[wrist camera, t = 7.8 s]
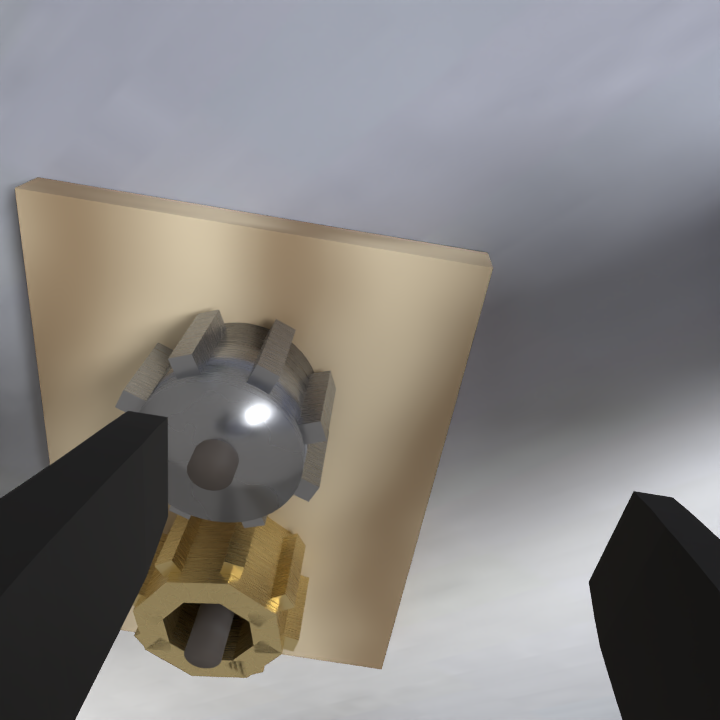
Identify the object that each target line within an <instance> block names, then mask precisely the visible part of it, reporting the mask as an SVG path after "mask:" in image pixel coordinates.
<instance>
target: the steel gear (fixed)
mask: <svg viewBox="0 0 720 720" xmlns="http://www.w3.org/2000/svg"><path fill="white" fill-rule="evenodd" d="M295 331H296V330H295V329H294V328H292V327H290V326H288V325H286V324H285V323H283V322H281V321H279V320H277V319H276V320H275V321H274V323H273V325H272V326H271V328H270V329H267V328H264V327H262V326H258V325H254V324H249V323H224V321H223V318H222V316H221V313H220V311H219V310H214V311H209V312H204V313H199V314H198V315H197V316H196V318H195V319H194V321H193V322H192V324H191V325H190V327H189V328H188V329H187V331H186V332H185V334H184V335H183V337H182V338H181V340H180V341H179V343H178V344H177V346H176V347H175V349H174V350H172V349H170V348H168V347H166V346H164V345H162V344H160V343H157V345H156V346H155V348H154V349H153V350H152V352H151V353H150V354H149V356H148V357H147V358H146V360H145V361H144V363H143V364H142V365H141V367H140V368H139V369H138V371H137V372H136V373H135V375H134V376H133V378H132V379H131V380H130V382H129V383H128V384H127V386H126V387H125V388H124V390H123V392H122V394H121V396H120V398H119V400H118V402H117V404H116V406H115V407H116V408H118V409H120V410H122V411H124V412H127V411H133V412H139V413H145V414H151V415H158V416H164V417H168V504H169V505H171V506H170V508H169V511H171V512H173V513H176V514H178V515H180V516H182V517H184V518H187V519H189V518H190V517H191V516H194V517H198V518H201V519H205V520H210V521H216V522H242V524H243V527H244V528H249V527H256V526H263V525H265V523H266V519H267V515H268V514H271V513H273V512H274V511H276V510H277V509H279V508H281V507H282V506H283V505H284V504H285V503H286V502H288V500H289V499H290V498H291V497H292V496H293V495H295V496H297V497H299V498H301V499H303V500H306V501H308V502H309V501H310V499H311V498H312V497H313V495H314V494H315V493H316V491H317V490H318V489H319V488H320V482H321V476H322V471H323V465H324V459H325V453H326V447H327V442H328V436H329V426H330V420H331V415H332V409H333V403H334V397H335V392H336V386H335V383H334V380H333V377H332V374H331V370H330V371H324V372H319V373H314V371H313V368H312V366H311V365H310V363H309V361H308V359H307V358H306V357H305V356H304V354H303V353H302V352H301V351H300V350H299V349H298V348H297V347H296V346H295V345H294V344H293V343H292V340H293V337H294V334H295ZM205 440H220V441H223V442H226V443H227V444H229V445H230V446H232V447H233V448H234V449H235V451H236V452H237V454H238V457H239V464H238V467H237V469H236V472H235V475H234V478H233V481H232V483H231V484H230V485H229V486H228V487H226V488H225V489H222V490H218V491H211V490H206V489H203V488H200V487H198V486H197V485H195V484H194V483H193V482H192V481H191V480H190V478H189V476H188V474H187V465H188V463H189V460H190V458H191V456H192V454H193V452H194V450H195V448H196V446H197V445H198V444H199V443H201V442H203V441H205Z"/></svg>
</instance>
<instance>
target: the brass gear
mask: <svg viewBox="0 0 720 720" xmlns="http://www.w3.org/2000/svg"><path fill="white" fill-rule="evenodd" d="M305 547H306V545H305V544H304V542H303V541H302V539H301V538H300V536H299V535H298V533H297V534H292V533H291V532H289V531H288V530H286V529H285V528H283V527H282V526H281V525H279V524H278V523H276V522H275V521H273V520H272V519H271V518H269V517H268V516H267V519H266V523H265V525H263V526H256V527H249V528H244V527H243V524H242V522H216V521H210V520H205V519H201V518H198V517H194V516H191V517H190V518H189V519H187V518H184V517H182V516H180V515H178V514H177V517H176V519H175V521H174V523H173V526H172V528H171V530H170V531H169V532H168V533H167V534H164V533H162V536H161V539H160V541H159V544H158V547H157V550H156V553H155V555H154V558H153V561H152V563H151V566H150V569H149V571H148V574H147V577H146V579H145V581H144V583H143V585H142V587H141V589H140V591H139V593H138V595H137V597H136V599H135V601H134V603H133V605H132V606H135V607H134V609H133V613H134V616H135V620H136V623H137V626H138V628H137V630H136V632H135V635H134V636H135V637H136V638H137V639H138V640H139V641H140V642H141V644H142V645H143V646H144V647H145V650H147V651H149V652H151V653H152V654H154V655H156V656H158V657H159V658H161V659H163V660H165V661H167V662H168V663H170V664H172V665H174V666H175V667H177V668H179V669H181V670H182V671H184V672H186V673H188V674H189V675H191V676H211V677H240V678H247V677H249V676H250V675H252V674H256V673H261V672H263V670H264V666H265V665H266V664H268V663H269V662H271V661H272V660H274V659H275V658H277V657H278V656H280V655H281V654H282V652H283V649H285V650H289V651H292V652H293V651H294V649H295V647H296V645H297V643H298V641H299V637H300V631H301V625H302V619H303V613H304V607H305V600H306V594H307V588H308V582H309V577H305V576H302V575H301V569H302V564H303V558H304V553H305ZM201 603H213V604H221V605H223V606H225V607H226V608H228V609H229V610H231V611H233V612H234V613H235V614H234V617H233V621H232V624H231V628H230V632H229V635H228V639H227V642H226V646H225V650H224V653H223V657H222V660H221V663H220V664H219V665H218V666H216V667H214V668H199V667H196V666H194V665H192V664H190V663H189V662H188V661H187V660H186V659H185V657H184V651H185V648H186V645H187V642H188V639H189V636H190V633H191V630H192V627H193V625H194V622H195V619H196V616H197V613H198V610H199V607H200V604H201Z"/></svg>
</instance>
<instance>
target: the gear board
mask: <svg viewBox="0 0 720 720" xmlns="http://www.w3.org/2000/svg"><path fill="white" fill-rule="evenodd" d="M15 193H16V201H17V209H18V217H19V225H20V233H21V240H22V248H23V256H24V264H25V272H26V280H27V287H28V295H29V303H30V311H31V319H32V327H33V335H34V342H35V350H36V358H37V366H38V374H39V382H40V389H41V397H42V405H43V413H44V421H45V429H46V436H47V444H48V452H49V460H50V465H51V464H52V463H54V462H55V461H57V460H58V459H59V458H61V457H62V456H64V455H65V454H66V453H68V452H69V451H71V450H72V449H74V448H75V447H76V446H78V445H79V444H81V443H82V442H84V441H85V440H86V439H88V438H89V437H91V436H92V435H93V434H95V433H96V432H98V431H99V430H100V429H102V428H103V427H105V426H106V425H108V424H109V423H111V422H112V421H113V420H115V419H116V418H118V417H119V416H121V415H122V414H124V413H125V412H124V411H122V410H120V409H118V408H116V407H115V406H116V404H117V402H118V400H119V398H120V396H121V394H122V392H123V390H124V388H125V387H126V386H127V384H128V383H129V382H130V380H131V379H132V378H133V376H134V375H135V373H136V372H137V371H138V369H139V368H140V367H141V365H142V364H143V363H144V361H145V360H146V358H147V357H148V356H149V354H150V353H151V352H152V350H153V349H154V348H155V346H156V345H157V343H160V344H162V345H164V346H166V347H168V348H170V349H172V350H174V349H175V347H176V346H177V344H178V343H179V341H180V340H181V338H182V337H183V335H184V334H185V332H186V331H187V329H188V328H189V327H190V325H191V324H192V322H193V321H194V319H195V318H196V316H197V315H198V314H199V313H204V312H209V311H214V310H219V311H220V313H221V316H222V318H223V321H224V323H249V324H254V325H258V326H262V327H264V328H267V329H270V328H271V326H272V325H273V323H274V321H275V320H276V319H277V320H279V321H281V322H283V323H285V324H286V325H288V326H290V327H292V328H294V329H295V330H296V331H295V334H294V337H293V340H292V343H293V344H294V345H295V346H296V347H297V348H298V349H299V350H300V351H301V352H302V353H303V354H304V356H305V357H306V358H307V359H308V361H309V363H310V365H311V366H312V368H313V371H314V373H319V372H324V371H330V370H331V374H332V377H333V380H334V383H335V386H336V392H335V397H334V403H333V409H332V415H331V420H330V426H329V436H328V442H327V447H326V453H325V459H324V465H323V471H322V476H321V482H320V488H319V489H318V490H317V491H316V493H315V494H314V495H313V497H312V498H311V499H310V501H309V502H308V501H306V500H303V499H301V498H299V497H297V496H295V495H293V496H292V497H291V498H290V499H289V500H288V502H286V503H285V504H284V505H283V506H282V507H281V508H279V509H277V510H276V511H274V512H273V513H271V514H268V515H267V516H268V517H269V518H271V519H272V520H273V521H275V522H276V523H278V524H279V525H281V526H282V527H283V528H285V529H286V530H288V531H289V532H291V533H292V534H297V533H298V535H299V536H300V538H301V539H302V541H303V542H304V544H305V545H306V547H305V553H304V558H303V564H302V569H301V575H302V576H305V577H309V582H308V588H307V594H306V600H305V607H304V613H303V619H302V625H301V631H300V637H299V641H298V643H297V645H296V647H295V649H294V651H293V652H292V651H289V650H285V649H283V652H282V654H283V655H290V656H297V657H303V658H310V659H316V660H323V661H330V662H336V663H343V664H350V665H356V666H363V667H370V668H376V669H382V666H383V662H384V659H385V655H386V651H387V648H388V644H389V641H390V637H391V633H392V630H393V626H394V623H395V619H396V615H397V612H398V608H399V605H400V601H401V597H402V594H403V590H404V587H405V583H406V579H407V576H408V572H409V569H410V565H411V561H412V558H413V554H414V551H415V547H416V543H417V540H418V536H419V533H420V529H421V525H422V522H423V518H424V515H425V511H426V507H427V504H428V500H429V497H430V493H431V489H432V486H433V482H434V479H435V475H436V471H437V468H438V464H439V461H440V457H441V454H442V450H443V446H444V443H445V439H446V436H447V432H448V428H449V425H450V421H451V418H452V414H453V410H454V407H455V403H456V400H457V396H458V392H459V389H460V385H461V382H462V378H463V374H464V371H465V367H466V364H467V360H468V356H469V353H470V349H471V346H472V342H473V338H474V335H475V331H476V328H477V324H478V320H479V317H480V313H481V310H482V306H483V302H484V299H485V295H486V292H487V288H488V284H489V281H490V277H491V274H492V270H493V266H492V263H491V261H490V258H489V255H488V253H486V252H480V251H474V250H468V249H462V248H456V247H450V246H444V245H438V244H432V243H426V242H420V241H414V240H408V239H402V238H396V237H390V236H384V235H378V234H372V233H366V232H360V231H355V230H349V229H343V228H337V227H331V226H325V225H319V224H313V223H307V222H301V221H295V220H289V219H283V218H277V217H271V216H265V215H259V214H253V213H247V212H241V211H235V210H229V209H223V208H218V207H212V206H206V205H200V204H194V203H188V202H182V201H176V200H170V199H164V198H158V197H152V196H146V195H140V194H134V193H128V192H122V191H116V190H110V189H104V188H98V187H92V186H86V185H80V184H75V183H69V182H63V181H57V180H51V179H45V178H39V177H38V178H35V179H33V180H31V181H29V182H27V183H24V184H22V185H20V186H18V187H16V188H15ZM238 464H239V457H238V454H237V452H236V451H235V449H234V448H233V447H232V446H230V445H229V444H227V443H226V442H223V441H220V440H205V441H203V442H201V443H199V444H198V445H197V446H196V448H195V450H194V452H193V454H192V456H191V458H190V460H189V463H188V465H187V474H188V476H189V478H190V480H191V481H192V482H193V483H194V484H195V485H197V486H198V487H200V488H203V489H206V490H211V491H218V490H222V489H225V488H226V487H228V486H229V485H230V484H231V483H232V481H233V478H234V475H235V472H236V469H237V467H238ZM170 506H171V505H169V504H168V519H167V522H166V524H165V527H164V530H163V533H164V534H167V533H168V532H169V531H170V530H171V528H172V526H173V523H174V521H175V519H176V517H177V514H176V513H173V512H171V511H169V508H170ZM134 607H135V606H132V607H131V609H130V611H129V613H128V615H127V617H126V619H125V621H124V623H123V625H122V627H121V629H120V630H124V631H131V632H136V630H137V628H138V626H137V623H136V620H135V616H134V613H133V609H134ZM234 614H235V613H234V612H233V611H231V610H229V609H228V608H226V607H225V606H223V605H221V604H213V603H201V604H200V607H199V610H198V613H197V616H196V619H195V622H194V625H193V627H192V630H191V633H190V636H189V639H188V642H187V645H186V648H185V651H184V657H185V659H186V660H187V661H188V662H189V663H190V664H192V665H194V666H196V667H199V668H214V667H216V666H218V665H219V664H220V663H221V660H222V657H223V653H224V650H225V646H226V642H227V639H228V635H229V632H230V628H231V624H232V621H233V617H234Z"/></svg>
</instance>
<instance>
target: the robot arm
mask: <svg viewBox="0 0 720 720" xmlns="http://www.w3.org/2000/svg"><path fill="white" fill-rule="evenodd" d="M167 519H168V417H164V416H158V415H151V414H145V413H139V412H133V411H127V412H125V413H124V414H122V415H121V416H119V417H118V418H116V419H115V420H113V421H112V422H111V423H109V424H108V425H106V426H105V427H103V428H102V429H100V430H99V431H98V432H96V433H95V434H93V435H92V436H91V437H89V438H88V439H86V440H85V441H84V442H82V443H81V444H79V445H78V446H76V447H75V448H74V449H72V450H71V451H69V452H68V453H66V454H65V455H64V456H62V457H61V458H59V459H58V460H57V461H55V462H54V463H52V464H51V465H49V466H48V467H46V468H45V469H43V470H42V471H40V472H39V473H37V474H36V475H35V476H33V477H32V478H30V479H29V480H27V481H26V482H24V483H23V484H21V485H20V486H18V487H17V488H15V489H14V490H12V491H11V492H9V493H8V494H6V495H5V496H3V497H2V498H0V720H75V719H76V717H77V715H78V713H79V711H80V709H81V707H82V705H83V703H84V701H85V699H86V697H87V695H88V693H89V691H90V689H91V687H92V685H93V683H94V681H95V679H96V677H97V675H98V673H99V671H100V669H101V667H102V665H103V663H104V661H105V659H106V657H107V655H108V653H109V651H110V649H111V647H112V645H113V643H114V641H115V639H116V637H117V635H118V633H119V631H120V629H121V627H122V625H123V623H124V621H125V619H126V617H127V615H128V613H129V611H130V609H131V607H132V605H133V603H134V601H135V599H136V597H137V595H138V593H139V591H140V589H141V587H142V585H143V583H144V581H145V579H146V577H147V574H148V571H149V569H150V566H151V563H152V561H153V558H154V555H155V553H156V550H157V547H158V544H159V541H160V539H161V536H162V533H163V530H164V527H165V524H166V522H167ZM589 586H590V593H591V599H592V605H593V611H594V618H595V623H596V628H597V633H598V638H599V643H600V648H601V651H602V655H603V658H604V662H605V665H606V668H607V671H608V675H609V678H610V681H611V684H612V688H613V691H614V694H615V698H616V701H617V704H618V707H619V710H620V713H621V717H622V720H720V539H719V538H718V537H717V536H716V535H714V534H713V533H712V532H711V531H710V530H709V529H708V528H707V527H706V526H705V525H704V524H703V523H702V522H700V521H699V520H698V519H697V518H696V517H695V516H694V515H693V514H692V513H690V512H689V511H688V510H687V509H686V508H685V507H683V506H682V505H681V504H680V503H679V502H677V501H676V500H675V499H674V498H672V497H666V496H660V495H654V494H647V493H641V492H635V491H634V492H633V494H632V496H631V498H630V500H629V502H628V504H627V506H626V508H625V510H624V512H623V514H622V516H621V518H620V520H619V522H618V524H617V526H616V528H615V530H614V532H613V534H612V536H611V538H610V540H609V542H608V544H607V546H606V548H605V550H604V552H603V554H602V556H601V558H600V560H599V562H598V564H597V566H596V568H595V570H594V572H593V574H592V576H591V579H590V581H589Z"/></svg>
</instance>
